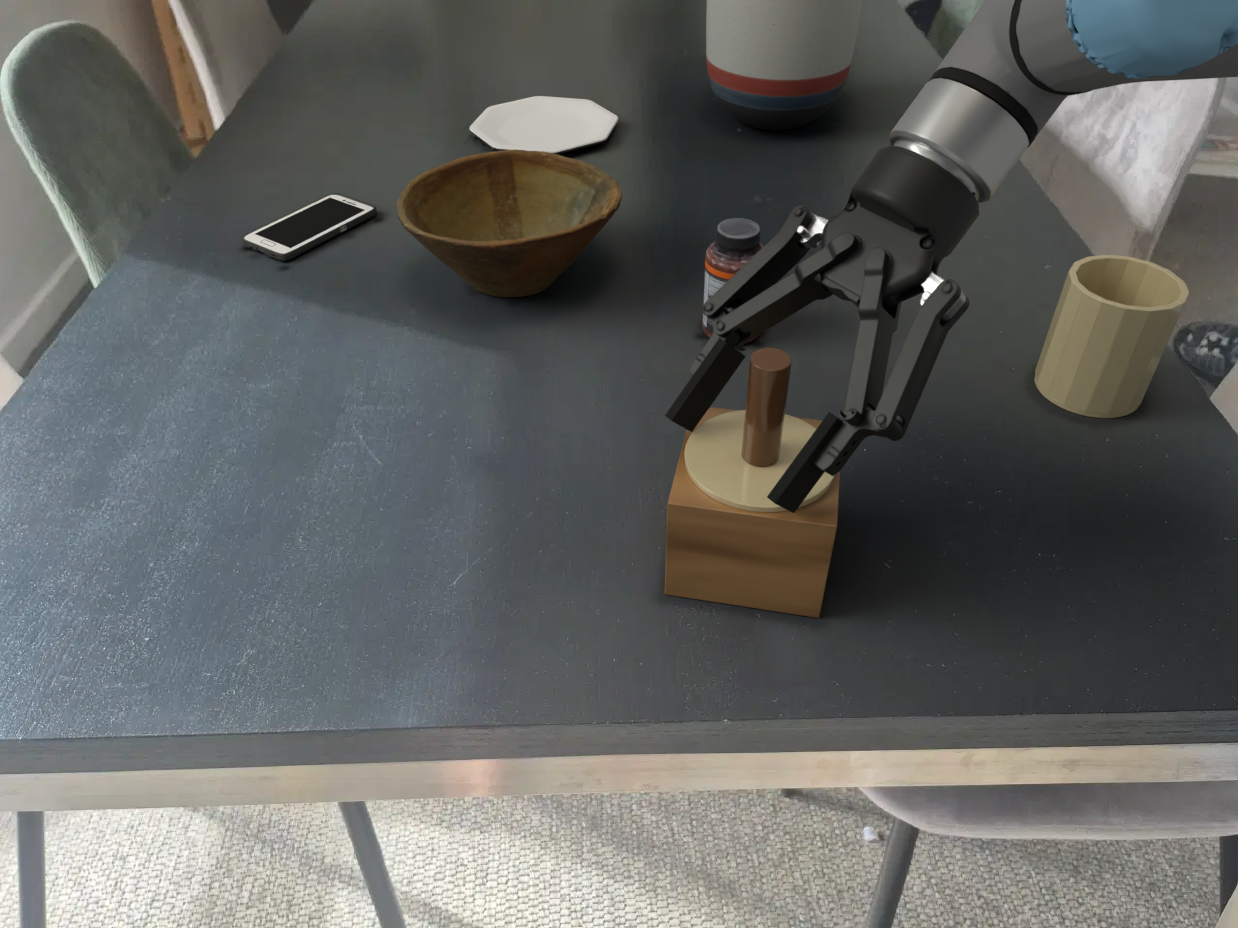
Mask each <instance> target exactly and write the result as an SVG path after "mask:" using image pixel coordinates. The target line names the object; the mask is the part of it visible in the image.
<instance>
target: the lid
mask: <svg viewBox="0 0 1238 928" xmlns="http://www.w3.org/2000/svg"><path fill="white" fill-rule="evenodd" d="M792 362H793V360H792V357H791V355H790V354H789V353H788V352H787V351H785V350H783V349H780V348H778V347H777V348H776V347H762V348H758V349H757V350H754V351H753V352H752V353H751V355H750V358H749V369H748V377H747V378H748V379H747V388H746V389H747V391H746V401H745V408H744V409H740V410H739V409H738V410H739V411H733V412H728V413H724V414H721V415H718V416H715V417H713V418H711V419H709V420H707V421H706V422H704V423H702V424H701V425H700V426H699V427H697V428H696V429H695V430H694V432H693V433H692V434H691V435H690V437H689V439H688V440H687V443H686V446H685V452H684V462H685V467H686V470H687V472H688V474H689V476H690V478H691V479H692V481H693V482H694V483H695V485H696V486H697V487H698V488H699V489H700V490H702V491H703V492H704V493H705V494H707V495H708V496H710V497H711V498H713V499H715V500H717V501H719V502H721V503H723V504H726V505H728V506H731V507H734V508H738V509H741V510H747V511H753V512H782V511H788V510H786V509H784V508H783V507H781V506H779V505H777V504H775V503H774V502H772V501H771V500H770V499H769V498H767V496H768V495H769V493H770V492H771V491H772V489H773V488H774V486H775V485H776V484H777V482H778V481H779V480H780V478H781V477H782V476H783V474H784V473H785V471H786V470H787V469H788V467H789V466H790V465H791V463H792V462H793V460H794V459H795V458H796V456H797V455H798V454H799V452H800V451H801V450H802V448H803V447H804V445H805V444H806V443H807V441H808V440H809V439H810V437H811V436H812V435H813V433H814V432H815V430H816V428H814V427H813V426H811V425H810V424H808V423H806V422H804V421H803V420H800V419H798V418H799V417H798V418H796V417H797V416H793V415H789V414H787V413H786V408H787V401H788V395H789V394H788V392H789V387H790V378H791V370H792V364H793V363H792ZM834 478H835V475H834V476H831V475H830V474H828V473H826V472H824V473H823V475H822V476H821V478H820V479H819V480H818V482H817V483H816V484H815V486H814V487H813V488H812V490H811V491H810V492H809V494H808V495H807V496H806V498H805V499H804V501H803V502H802V503H801V505H800V506H799V507H798V508H800V507H803V506H805V505H807V504H810V503H811V502H813V501H815V500H817V499H818V498H819V497H821V496H822V495H823V494H824V493H825V492H826V491H827V490H828V489H829V487H830V486H831V484H832V483H833V480H834Z"/></svg>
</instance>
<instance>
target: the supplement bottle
mask: <svg viewBox="0 0 1238 928" xmlns="http://www.w3.org/2000/svg"><path fill="white" fill-rule="evenodd" d="M764 246H765V245H763V243H761V227H760V225H759V224H758V223H757V222H755V221H753V220H751V219H747V218H743V217H733V218H728V219H724V220H722V221H721V222H719V224H718V225H717V227H716V236H715V240H714V242H712V243H710V245H709V246H708V247H707V249H706V251H705V256H704V257H705V258H704V259H705V261H704V279H703V298H702V302H703V303H702V307H701V309H702V308H703V305H704V304H705V302H706V301H707V300H708V299H709V298H710V297H711V296H713V295H714V294H715V293H716V292H717V291H718V290H719V289H720V288H721V287H722V286H723V285H724V284H725V283H726V282H727V281H728V280H729V279H730V278H731V277H732V276H733V275H734V274H735V273H737V272H738V271H739V270H740V269H741V268H742V267H743V266H744V265H745V264H746V263H747V262H748V261H749V260H750V259H751V258H752V257H753V256H754V255H755V254H756V253H757V252H758V251H759V250H761V249H762V248H763V247H764ZM701 320H702V321H701V322H702V330H703V332H704V334H705V336H707V338H708V339H710V337H711V336H712V333H713V326H712V324H711V322H710V321H709V319H708V317H707V316H706V315H705V314H703V313H702V319H701ZM759 336H760V335H758V336H756V337H755V338H753V339H751V340H750V341H748V342H746V343H745V344H749V343H751V342H753V341H754V340H756V339H757V338H758V337H759Z"/></svg>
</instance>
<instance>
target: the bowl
mask: <svg viewBox="0 0 1238 928" xmlns="http://www.w3.org/2000/svg"><path fill="white" fill-rule="evenodd" d="M622 198H623V193H622V189H621V186H620V184H619V182H618V180H617V179H616V178H615V177H613V176H612V175H610V174H609V173H608V172H606V171H604V170H602V169H601V168H599V167H598V166H596V165H594V164H592V163H589V162H587V161H584V160H581V159H576V158H571V157H566V156H563V155H561V154H554V153H549V152H543V151H526V150H516V149H515V150H503V151H498V150H493V151H486V152H481V153H475V154H471V155H465V156H461V157H459V158H456V159H453V160H450V161H447V162H445V163H443V164H440V165H438V166H434V167H432V168H429V169H428V170H425V171H423V172H421V173H419V174H417V175H415V177H414V178H413V179H411V180H410V182H408V183H407V184H406V186H405V187H404V188H403V189H402V191H401V193H400V195H399V197H398V199H397V202H396V207H395V208H396V214H397V217H398V220H399V222H400V223H401V225H402V227H403V228H404V229H405V230H406V231H407V232H408V233H409V234H410V235H411V236H412V237H413V238H414V239H415V240H416V241H417V242H418V243H420V244H421V245H422V246H423V247H424V248H425V249H426V250H427V251H428V252H429V253H431V254H432V255H433V256H434V257H435V258H437V259H438V260H439V261H440V262H442V263H443V264H444V265H446V267H448V268H450V269H451V270H452V271H453V272H454V273H455V274H457V275H458V276H459V277H460V278H461V279H462V280H464V281H465V282H466V283H467V284H468V285H470V286H471V287H473V289H475V290H476V291H477V292H479V293H483V294H486V295H487V296H493V297H498V298H521V297H522V298H523V297H527V296H533V295H537V294H538V293H539V294H540V293H542V292H543V291H545V290H546V289H548V288H549V287H550V286H551V285H552V284H553V283H554V282H555V281H556V280H557V279H558V278H559V276H560V275H561V274H563V273H564V271H566V270H567V269H568V268H569V267H570V266H571V265H572V264H573V263H574V262H575V261H576V260H577V259H578V257H580V255H581V254H582V253H583V252H584V251H585V249H586V248H587V247H588V246H589V245H590V243H592V241H593V240H594V239H595V238H596V236H597V235H598V234H599V233H600V232H602V230H603V229H604V228H605V226H606V225H607V223H609V221H610V220H611V219H612V218H613V216H614V215H615V213H616V212H617V211H618V210H619V208H620V206H621V203H622Z"/></svg>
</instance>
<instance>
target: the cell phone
mask: <svg viewBox="0 0 1238 928" xmlns="http://www.w3.org/2000/svg"><path fill="white" fill-rule="evenodd" d="M377 214H378V212H377V207H376V206H375V205H373V204H371V203H368V202H365V201H364V200H359V199H358V198H357V199H356V198H354V197H352V196H348V195H346V194H342V193H338V192H331V193H329V194H327V195H325V196H322V197H320V198H318V199H316V200H314V201H312V202H310V203H308V204H305V205H304V206H301V207H299V208H297V209H295V210H293V211H291V212H288V213H287V214H285V215H283V216H281V217H279V218H276V219H275V220H272V221H270V222H268V223H266V224H264V225H261V226H259V227H258V228H256V229H254V230H251V231H250V232H247V233H245V234H244V235H242V237H241V242H242V245H243V246H244V247H246V248H247V249H252V250H253V251H256V252H261V253H263V254H264V255H265V256H268V257H271V258H274V259H276V260H279V261H282V262H286V261H289V260H291V259H294V258H296V257H298V256H299V255H302V254H304V253H305V252H307V251H309V250H311V249H313V248H315V247H317V246H319V245H320V244H322V243H325V242H326V241H329V240H331V239H333V238H334V237H336V236H338V235H340V234H342V233H344V232H346V231H348V230H350V229H352V228H353V227H355V226H357V225H359V224H361V223H363V222H366V221H367V220H369V219H371V218H373V217H374V216H376V215H377Z"/></svg>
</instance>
